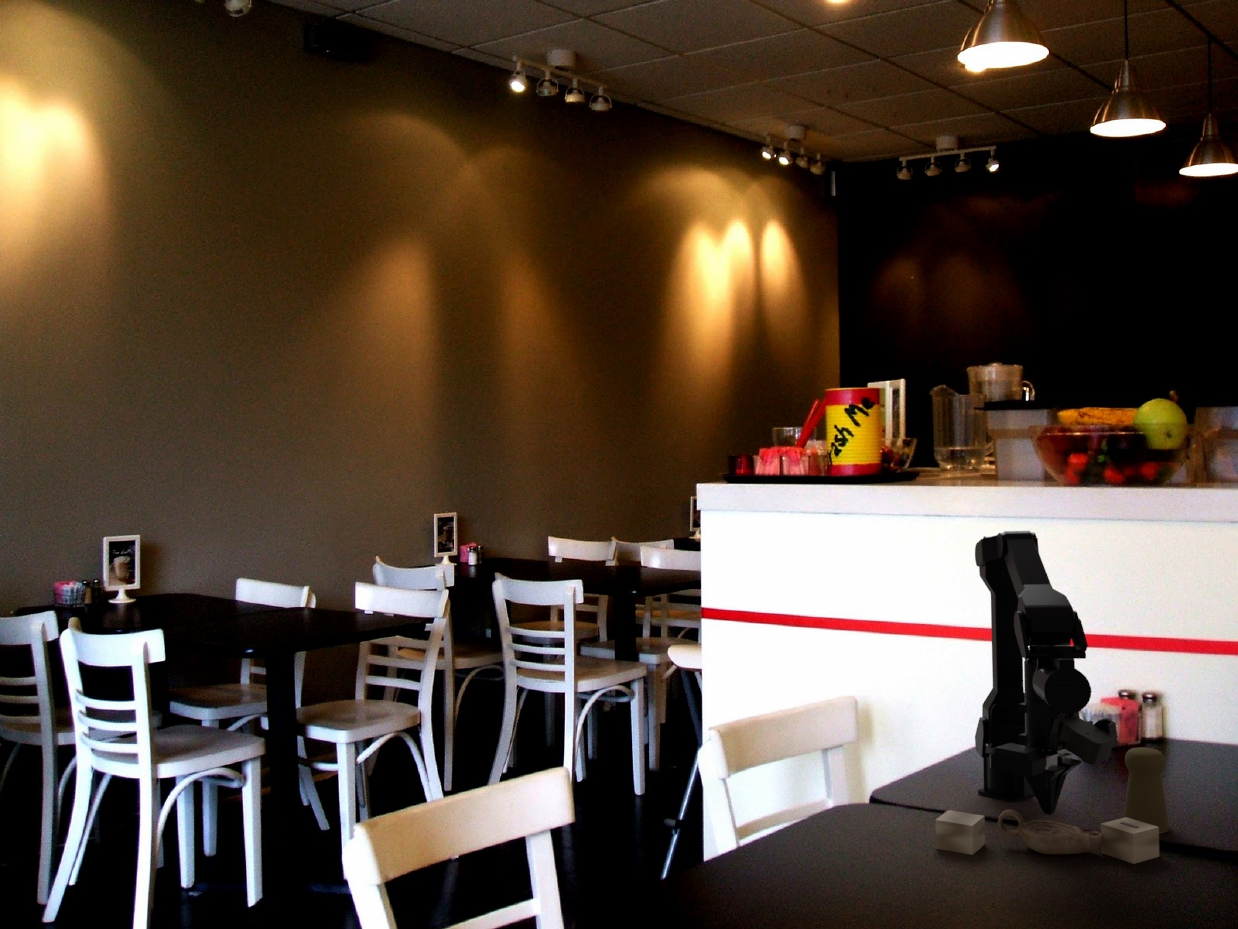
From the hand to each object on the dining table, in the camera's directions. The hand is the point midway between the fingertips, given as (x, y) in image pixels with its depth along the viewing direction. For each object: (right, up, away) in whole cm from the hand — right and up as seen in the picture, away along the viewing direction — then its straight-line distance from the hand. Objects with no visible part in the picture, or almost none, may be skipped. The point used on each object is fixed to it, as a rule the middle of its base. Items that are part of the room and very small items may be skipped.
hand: (1048, 814), depth 164 cm
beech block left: (-11, -5, +3) cm, 12 cm away
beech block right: (+10, -5, -2) cm, 11 cm away
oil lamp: (0, -5, 0) cm, 5 cm away
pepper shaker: (+16, -5, +9) cm, 19 cm away
